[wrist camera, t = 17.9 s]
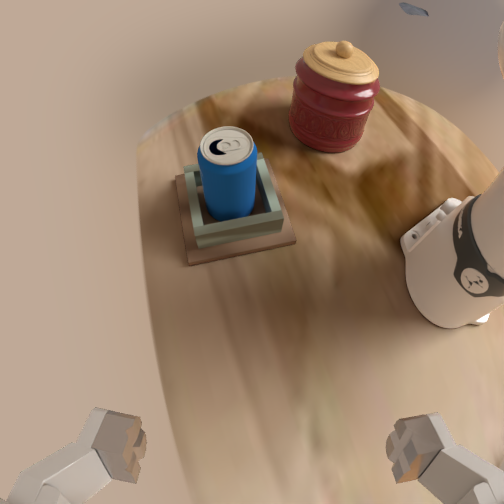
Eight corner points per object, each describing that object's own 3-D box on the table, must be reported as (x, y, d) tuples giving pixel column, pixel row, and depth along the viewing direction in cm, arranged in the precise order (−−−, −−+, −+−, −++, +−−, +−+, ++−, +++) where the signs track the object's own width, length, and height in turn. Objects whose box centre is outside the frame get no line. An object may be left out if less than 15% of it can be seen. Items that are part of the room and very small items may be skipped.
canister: (372, 150, 50) (408, 68, 34) (303, 160, 48) (324, 66, 32) (341, 101, 55) (362, 25, 39) (277, 107, 53) (286, 23, 37)
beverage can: (203, 190, 44) (192, 129, 33) (248, 182, 45) (250, 119, 34) (210, 230, 42) (200, 172, 31) (259, 220, 42) (264, 161, 31)
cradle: (176, 179, 46) (170, 160, 42) (267, 162, 48) (269, 142, 44) (189, 265, 41) (183, 251, 37) (295, 243, 42) (300, 227, 38)
